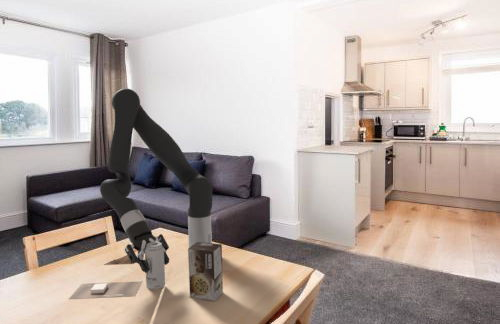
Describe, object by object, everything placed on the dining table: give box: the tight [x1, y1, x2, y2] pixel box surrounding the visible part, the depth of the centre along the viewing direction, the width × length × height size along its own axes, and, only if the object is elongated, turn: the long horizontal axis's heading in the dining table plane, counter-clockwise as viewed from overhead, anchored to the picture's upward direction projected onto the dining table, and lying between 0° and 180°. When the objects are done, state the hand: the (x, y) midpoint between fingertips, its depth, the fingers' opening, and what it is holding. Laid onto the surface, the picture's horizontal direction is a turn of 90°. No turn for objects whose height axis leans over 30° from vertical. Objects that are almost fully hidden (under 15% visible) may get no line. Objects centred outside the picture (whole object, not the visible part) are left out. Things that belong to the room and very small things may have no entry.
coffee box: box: [187, 242, 224, 302], centre depth 109 cm, size 9×6×16 cm
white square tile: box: [91, 282, 109, 293], centre depth 111 cm, size 4×4×1 cm
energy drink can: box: [144, 241, 166, 290], centre depth 114 cm, size 6×6×15 cm
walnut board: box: [68, 280, 143, 300], centre depth 111 cm, size 20×10×1 cm, turn 94°
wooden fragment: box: [103, 254, 132, 266], centre depth 131 cm, size 26×11×1 cm, turn 165°
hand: (157, 267), depth 113 cm, fingers open, 7 cm apart
